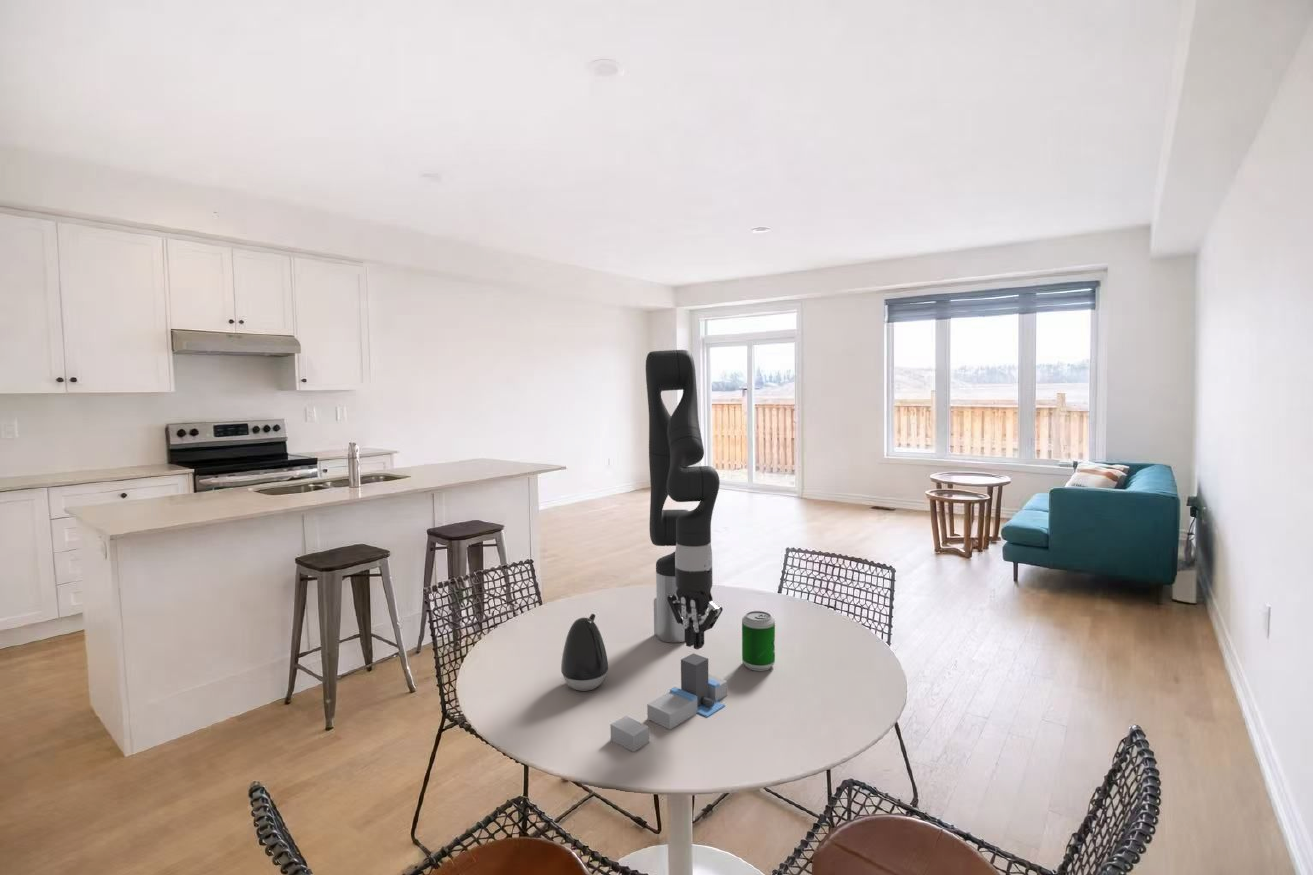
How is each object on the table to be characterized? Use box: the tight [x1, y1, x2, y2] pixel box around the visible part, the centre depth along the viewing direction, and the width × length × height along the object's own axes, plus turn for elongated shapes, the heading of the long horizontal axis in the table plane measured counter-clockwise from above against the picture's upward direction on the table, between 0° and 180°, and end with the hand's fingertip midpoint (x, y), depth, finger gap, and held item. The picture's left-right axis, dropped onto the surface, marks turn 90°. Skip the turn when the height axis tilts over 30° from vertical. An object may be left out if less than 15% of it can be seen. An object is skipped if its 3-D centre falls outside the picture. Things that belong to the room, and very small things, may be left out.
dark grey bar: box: [680, 652, 714, 708], centre depth 133 cm, size 6×4×9 cm, turn 47°
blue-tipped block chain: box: [610, 673, 728, 752], centre depth 129 cm, size 11×28×4 cm, turn 137°
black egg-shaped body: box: [560, 613, 609, 692], centre depth 142 cm, size 10×10×15 cm
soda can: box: [741, 610, 776, 672], centre depth 150 cm, size 8×8×12 cm
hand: (694, 646), depth 133 cm, fingers closed
